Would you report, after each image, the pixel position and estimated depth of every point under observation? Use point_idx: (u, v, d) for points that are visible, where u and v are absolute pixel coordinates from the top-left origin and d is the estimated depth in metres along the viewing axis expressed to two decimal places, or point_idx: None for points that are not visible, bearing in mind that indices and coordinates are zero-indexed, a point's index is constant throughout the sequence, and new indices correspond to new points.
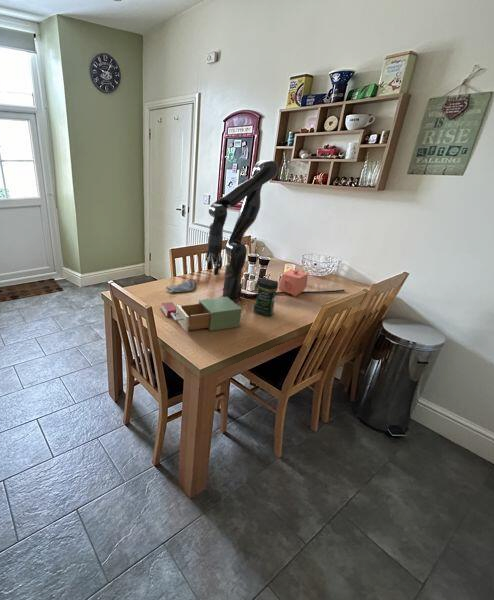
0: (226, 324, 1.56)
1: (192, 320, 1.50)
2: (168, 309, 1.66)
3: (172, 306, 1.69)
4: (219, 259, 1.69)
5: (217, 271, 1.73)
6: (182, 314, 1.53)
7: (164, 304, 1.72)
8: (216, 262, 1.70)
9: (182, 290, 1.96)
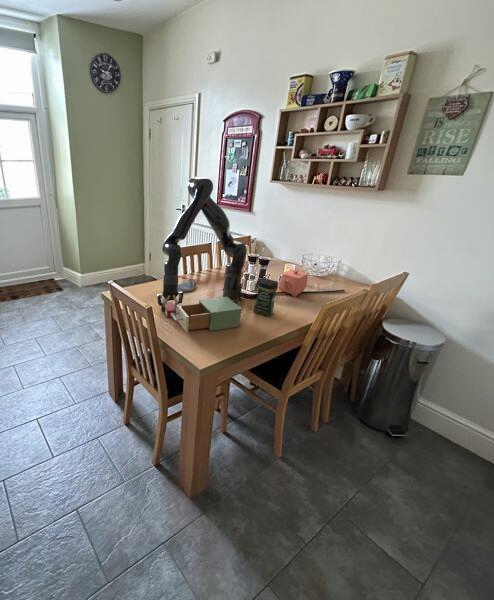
0: (226, 324, 1.56)
1: (192, 320, 1.50)
2: (168, 309, 1.66)
3: (172, 306, 1.69)
4: (157, 296, 1.65)
5: (161, 308, 1.69)
6: (182, 314, 1.53)
7: None
8: None
9: (182, 290, 1.96)
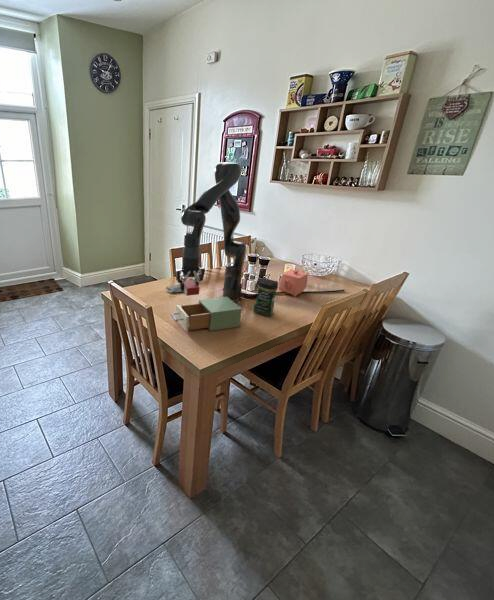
0: (226, 324, 1.56)
1: (192, 320, 1.50)
2: (188, 287, 1.50)
3: (192, 284, 1.52)
4: (176, 272, 1.49)
5: (180, 286, 1.52)
6: (182, 314, 1.53)
7: None
8: None
9: None
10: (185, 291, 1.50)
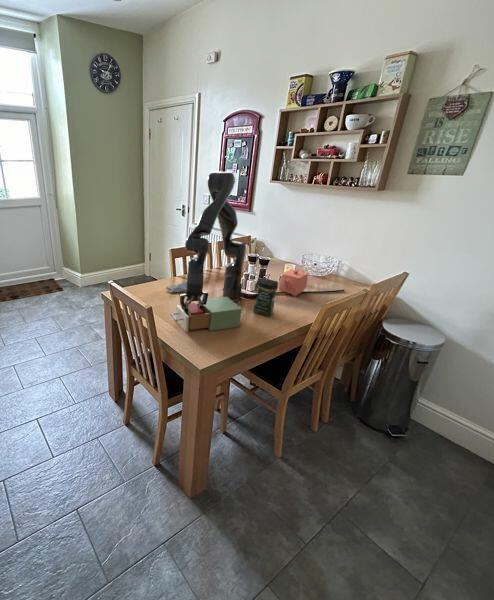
0: (226, 324, 1.56)
1: (192, 320, 1.50)
2: (192, 311, 1.52)
3: (196, 308, 1.55)
4: (180, 297, 1.51)
5: (184, 310, 1.54)
6: (182, 314, 1.53)
7: None
8: None
9: (182, 290, 1.96)
10: (189, 315, 1.52)
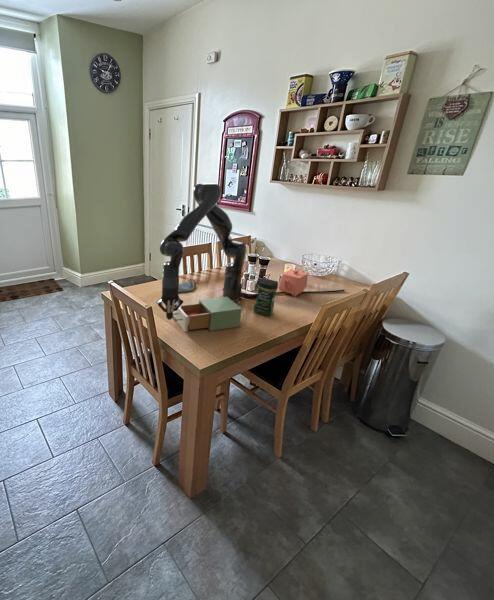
0: (226, 324, 1.56)
1: (191, 320, 1.50)
2: None
3: None
4: None
5: (166, 315, 1.52)
6: (181, 314, 1.53)
7: (186, 312, 1.59)
8: None
9: (182, 290, 1.96)
10: (188, 322, 1.54)
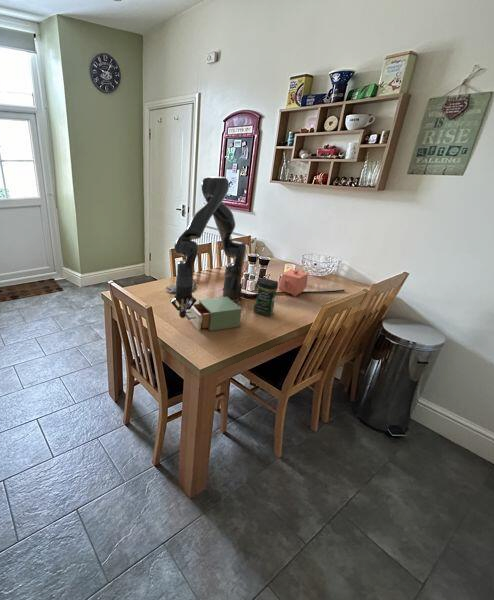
0: (226, 324, 1.56)
1: (204, 318, 1.52)
2: None
3: None
4: None
5: (180, 313, 1.54)
6: (194, 312, 1.54)
7: (199, 311, 1.61)
8: None
9: None
10: (201, 321, 1.56)
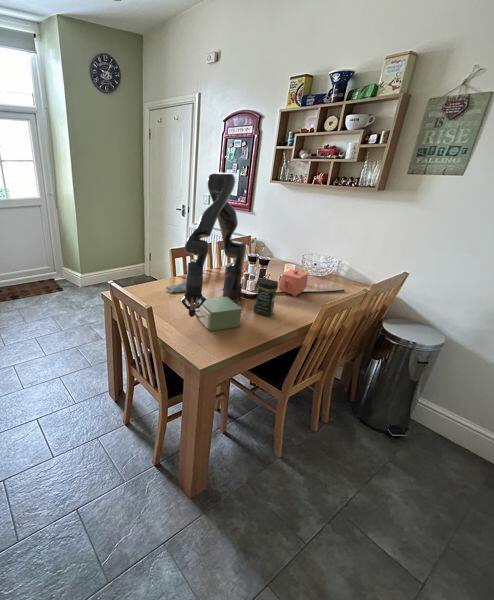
0: (226, 324, 1.56)
1: None
2: None
3: None
4: (181, 301, 1.52)
5: (189, 312, 1.55)
6: (204, 311, 1.56)
7: None
8: None
9: (182, 290, 1.96)
10: None
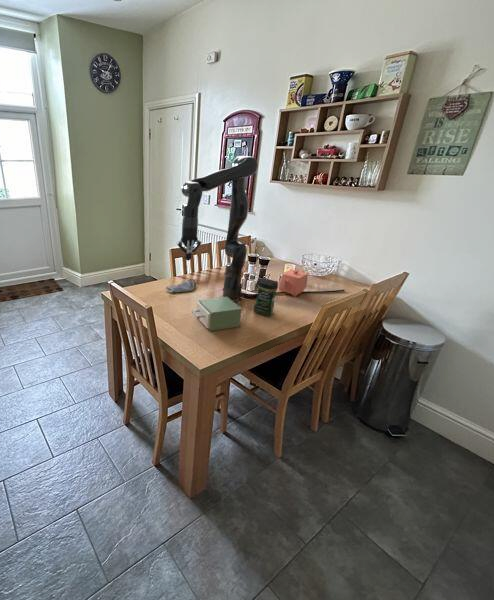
0: (226, 324, 1.56)
1: None
2: None
3: None
4: (178, 244, 1.61)
5: (185, 255, 1.64)
6: (204, 311, 1.56)
7: None
8: None
9: (182, 290, 1.96)
10: None
